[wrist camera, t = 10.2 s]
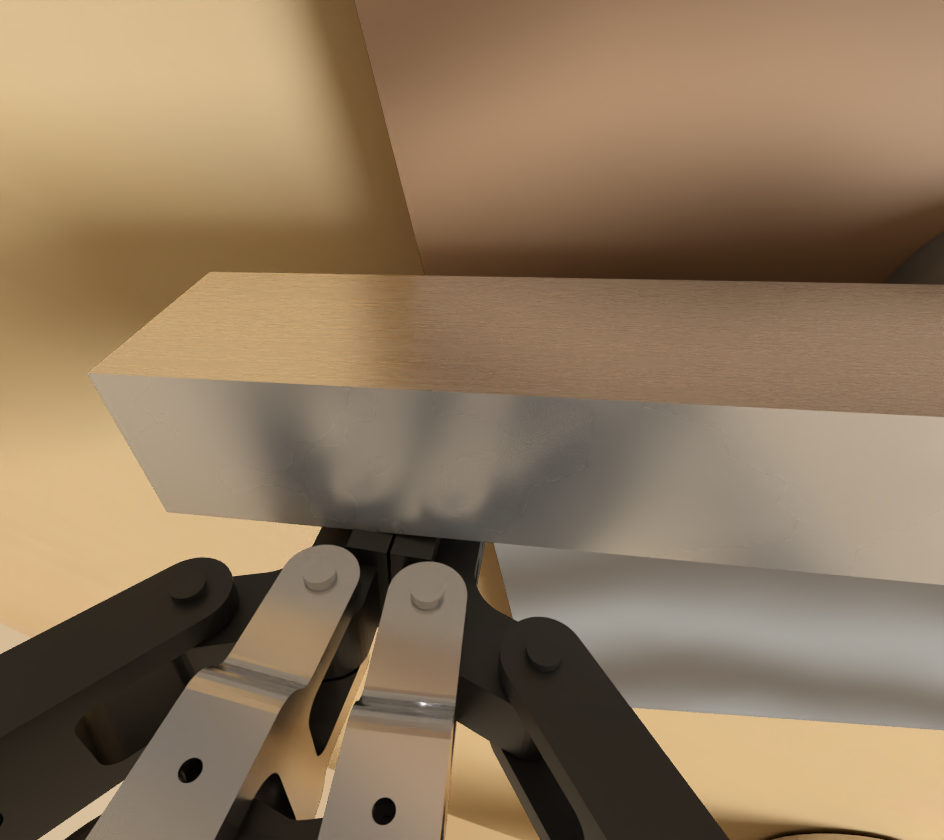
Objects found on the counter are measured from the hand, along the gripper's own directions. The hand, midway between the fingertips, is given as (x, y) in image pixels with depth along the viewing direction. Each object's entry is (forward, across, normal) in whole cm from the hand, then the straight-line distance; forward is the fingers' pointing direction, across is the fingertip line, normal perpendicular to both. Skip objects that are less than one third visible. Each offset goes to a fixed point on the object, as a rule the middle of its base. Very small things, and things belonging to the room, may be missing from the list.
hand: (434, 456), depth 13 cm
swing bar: (0, -4, -3) cm, 5 cm away
